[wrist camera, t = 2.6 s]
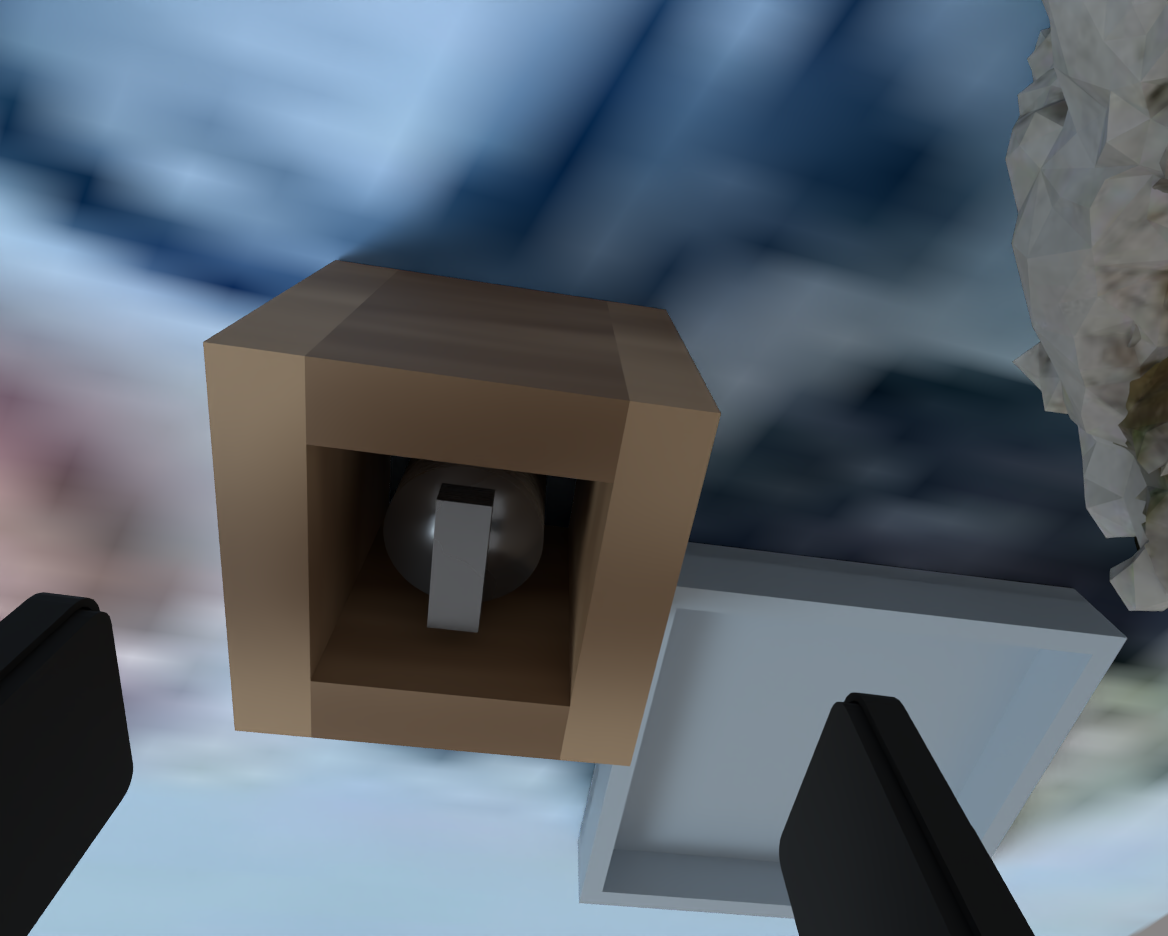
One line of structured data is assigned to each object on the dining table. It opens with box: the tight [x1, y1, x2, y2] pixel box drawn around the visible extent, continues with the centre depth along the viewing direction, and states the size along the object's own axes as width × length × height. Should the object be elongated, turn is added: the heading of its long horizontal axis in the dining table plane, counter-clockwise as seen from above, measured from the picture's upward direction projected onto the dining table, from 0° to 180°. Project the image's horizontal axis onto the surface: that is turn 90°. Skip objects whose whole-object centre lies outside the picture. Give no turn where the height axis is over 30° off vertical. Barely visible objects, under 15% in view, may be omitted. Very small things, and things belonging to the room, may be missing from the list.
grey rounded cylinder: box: [383, 458, 547, 633], centre depth 14 cm, size 3×3×5 cm
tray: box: [578, 542, 1127, 919], centre depth 20 cm, size 12×12×2 cm
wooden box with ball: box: [203, 260, 721, 766], centre depth 14 cm, size 8×7×6 cm
